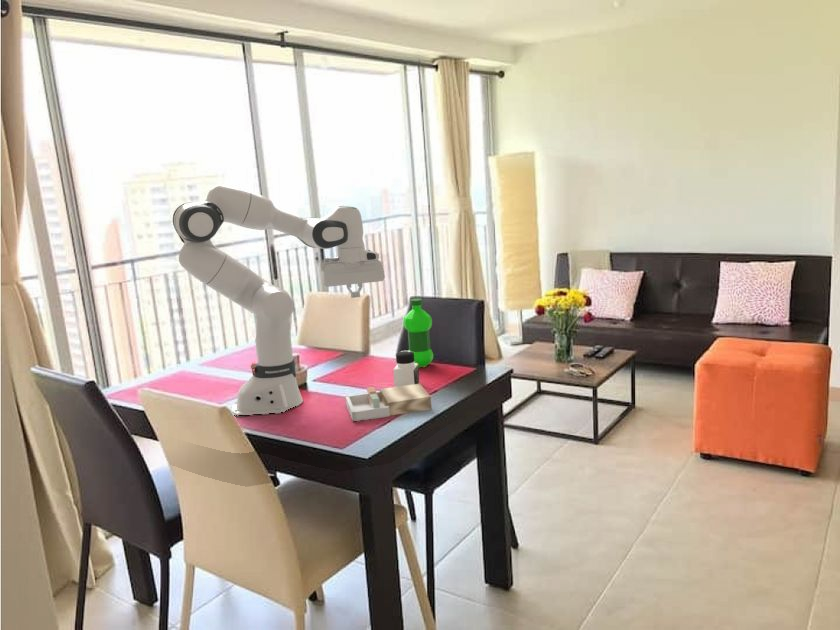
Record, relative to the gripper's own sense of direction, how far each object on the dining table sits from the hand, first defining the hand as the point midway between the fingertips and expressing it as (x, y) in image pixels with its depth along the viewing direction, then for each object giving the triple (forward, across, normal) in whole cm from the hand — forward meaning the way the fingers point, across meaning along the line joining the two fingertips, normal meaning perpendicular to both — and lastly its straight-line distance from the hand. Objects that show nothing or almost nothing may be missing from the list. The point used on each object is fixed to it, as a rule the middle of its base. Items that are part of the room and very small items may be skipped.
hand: (355, 297), depth 220 cm
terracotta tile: (+28, +1, -20) cm, 35 cm away
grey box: (+31, -3, -24) cm, 39 cm away
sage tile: (+28, 0, -28) cm, 39 cm away
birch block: (+31, +9, -24) cm, 40 cm away
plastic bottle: (+31, +24, +16) cm, 43 cm away
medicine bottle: (+31, +14, -6) cm, 35 cm away
